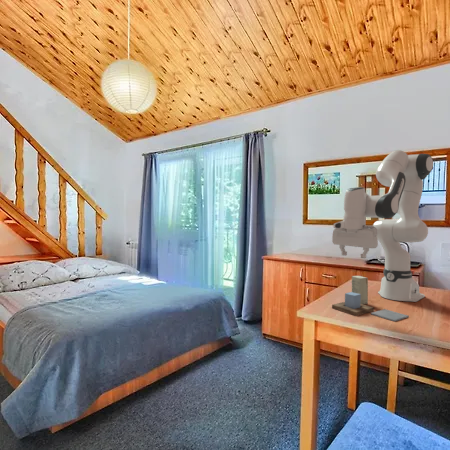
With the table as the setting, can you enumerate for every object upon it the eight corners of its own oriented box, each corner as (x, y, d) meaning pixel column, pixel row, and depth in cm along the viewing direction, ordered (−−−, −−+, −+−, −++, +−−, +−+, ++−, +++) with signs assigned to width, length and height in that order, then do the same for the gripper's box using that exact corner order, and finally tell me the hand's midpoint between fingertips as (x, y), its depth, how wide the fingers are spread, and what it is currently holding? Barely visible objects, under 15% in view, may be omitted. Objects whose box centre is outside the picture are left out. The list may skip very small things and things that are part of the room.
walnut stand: (349, 303, 143) (349, 300, 143) (373, 311, 133) (373, 307, 133) (332, 308, 137) (332, 304, 137) (355, 315, 127) (356, 312, 127)
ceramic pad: (384, 310, 134) (384, 309, 134) (408, 317, 125) (408, 315, 125) (370, 314, 129) (370, 312, 129) (394, 321, 120) (394, 320, 120)
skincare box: (368, 304, 143) (368, 278, 143) (360, 304, 142) (360, 278, 141) (358, 300, 149) (359, 275, 149) (350, 301, 148) (351, 275, 148)
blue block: (351, 307, 138) (351, 292, 138) (360, 310, 134) (360, 294, 134) (344, 309, 136) (345, 293, 135) (353, 311, 132) (354, 295, 132)
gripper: (381, 225, 126) (380, 259, 127) (339, 224, 144) (338, 253, 144) (372, 225, 123) (371, 260, 124) (330, 224, 140) (329, 254, 141)
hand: (353, 256), depth 134 cm, fingers open, 8 cm apart
